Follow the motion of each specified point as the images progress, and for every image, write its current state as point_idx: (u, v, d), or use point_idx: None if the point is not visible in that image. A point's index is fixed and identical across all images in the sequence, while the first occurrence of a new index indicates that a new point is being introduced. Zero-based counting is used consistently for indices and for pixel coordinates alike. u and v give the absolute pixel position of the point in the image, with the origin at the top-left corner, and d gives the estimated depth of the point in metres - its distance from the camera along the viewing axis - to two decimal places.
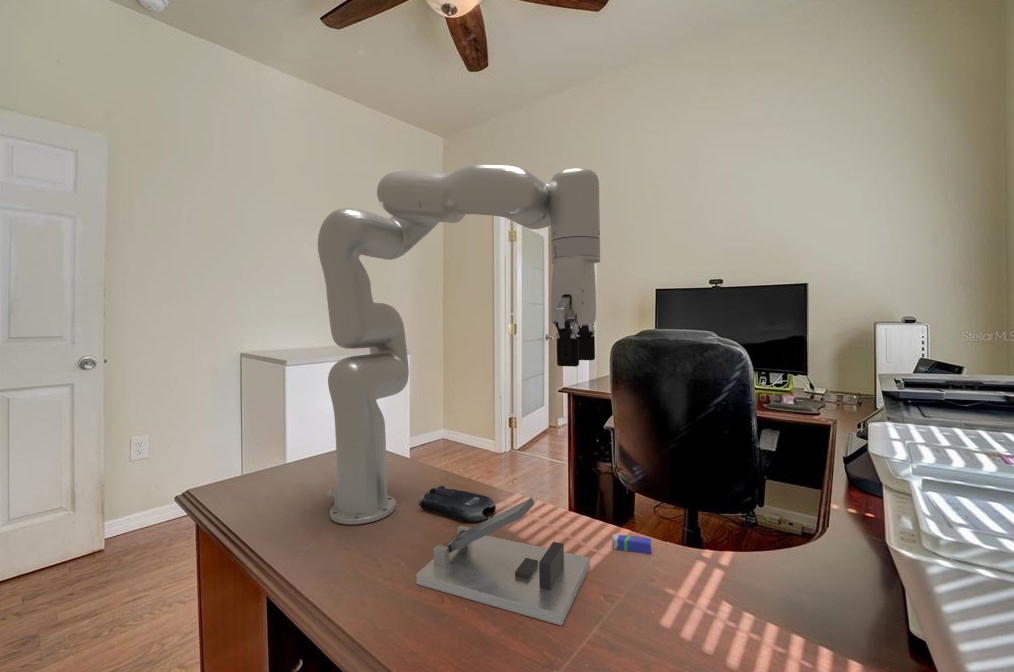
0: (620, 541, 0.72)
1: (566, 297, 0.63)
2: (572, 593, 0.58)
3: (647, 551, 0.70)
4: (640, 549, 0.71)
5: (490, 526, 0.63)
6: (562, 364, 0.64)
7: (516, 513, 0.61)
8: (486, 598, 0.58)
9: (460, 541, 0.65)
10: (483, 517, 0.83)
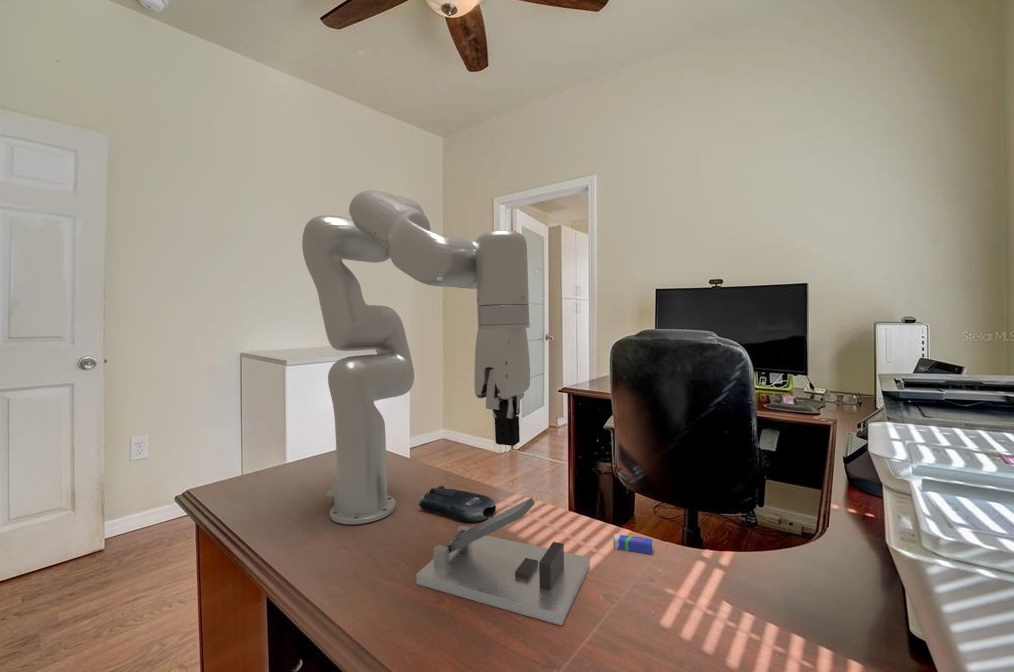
0: (621, 541, 0.71)
1: (491, 379, 0.60)
2: (572, 593, 0.58)
3: (648, 552, 0.70)
4: (641, 549, 0.70)
5: (490, 526, 0.63)
6: (500, 442, 0.63)
7: (516, 513, 0.61)
8: (486, 598, 0.58)
9: (460, 541, 0.65)
10: (483, 517, 0.83)
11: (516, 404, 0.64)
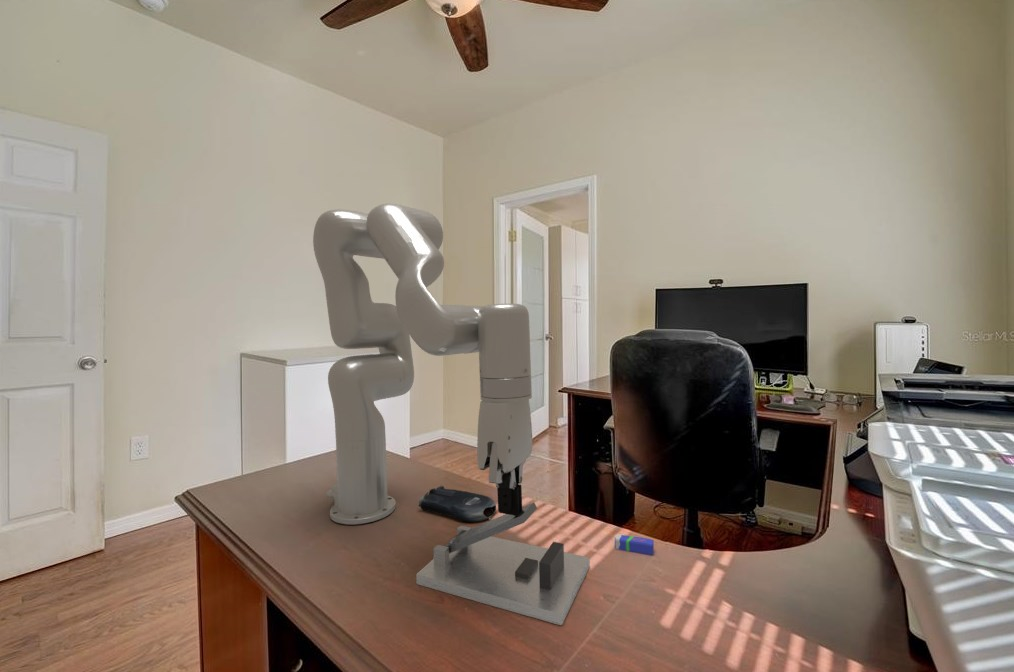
0: (622, 541, 0.71)
1: (494, 453, 0.60)
2: (572, 593, 0.58)
3: (649, 552, 0.70)
4: (642, 550, 0.70)
5: (492, 529, 0.63)
6: (503, 511, 0.64)
7: (519, 518, 0.61)
8: (486, 598, 0.58)
9: (461, 542, 0.65)
10: (484, 517, 0.83)
11: (519, 473, 0.64)
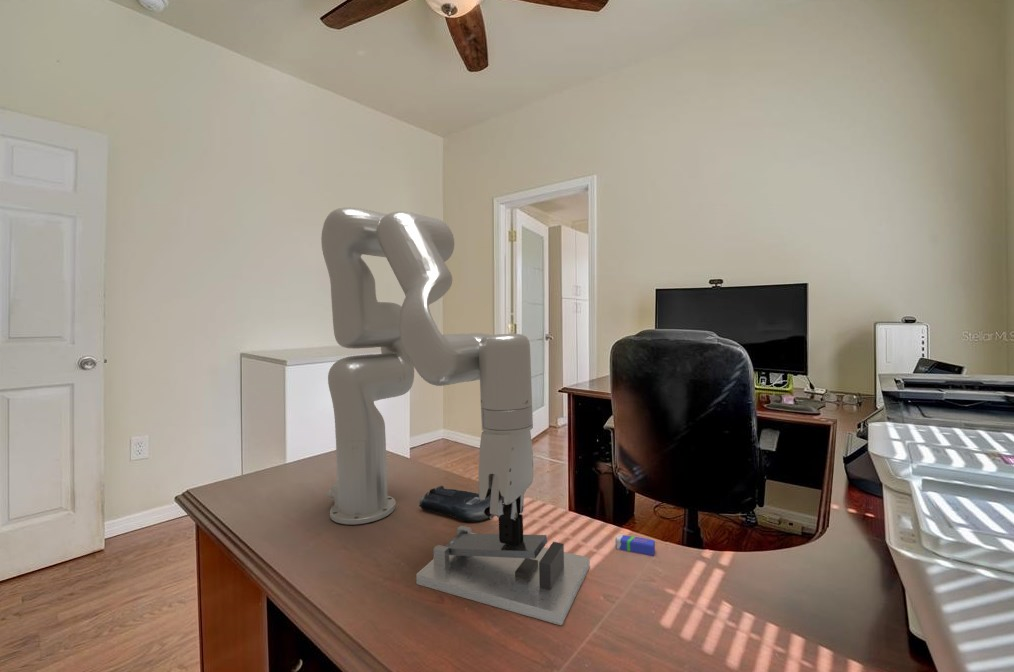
0: (623, 541, 0.71)
1: (495, 485, 0.60)
2: (572, 593, 0.58)
3: (650, 553, 0.70)
4: (643, 550, 0.70)
5: (499, 551, 0.62)
6: (504, 541, 0.64)
7: (531, 552, 0.60)
8: (486, 598, 0.58)
9: (464, 550, 0.65)
10: (485, 516, 0.83)
11: (520, 502, 0.64)
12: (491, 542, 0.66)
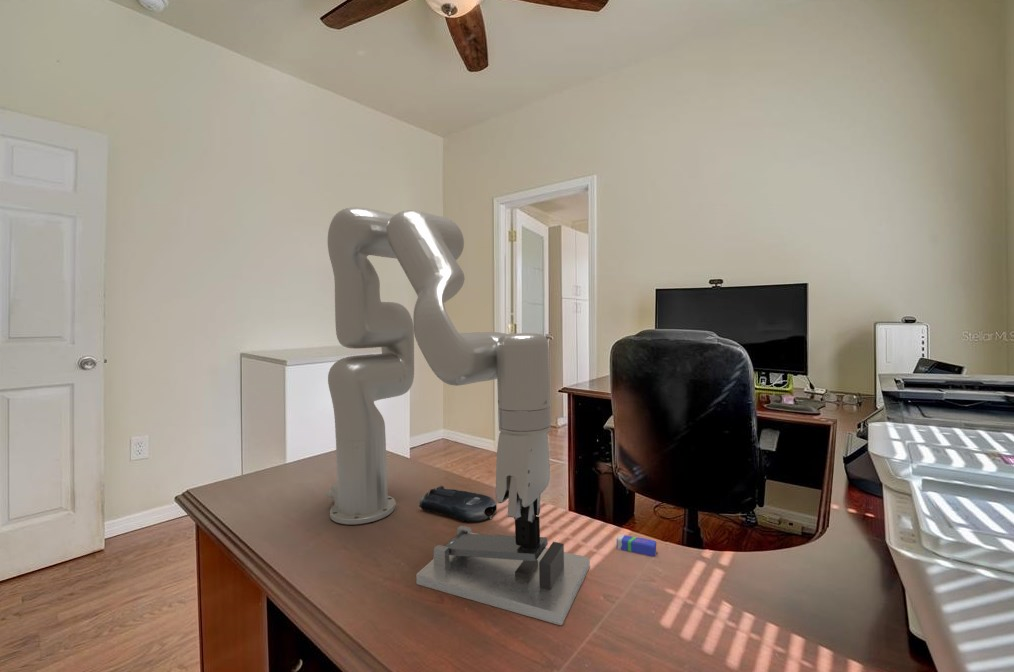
0: (624, 541, 0.71)
1: (513, 487, 0.59)
2: (572, 593, 0.58)
3: (651, 553, 0.69)
4: (644, 551, 0.70)
5: (500, 553, 0.62)
6: (520, 544, 0.63)
7: (531, 555, 0.60)
8: (486, 598, 0.58)
9: (464, 550, 0.65)
10: (485, 517, 0.83)
11: (536, 504, 0.63)
12: (491, 543, 0.66)
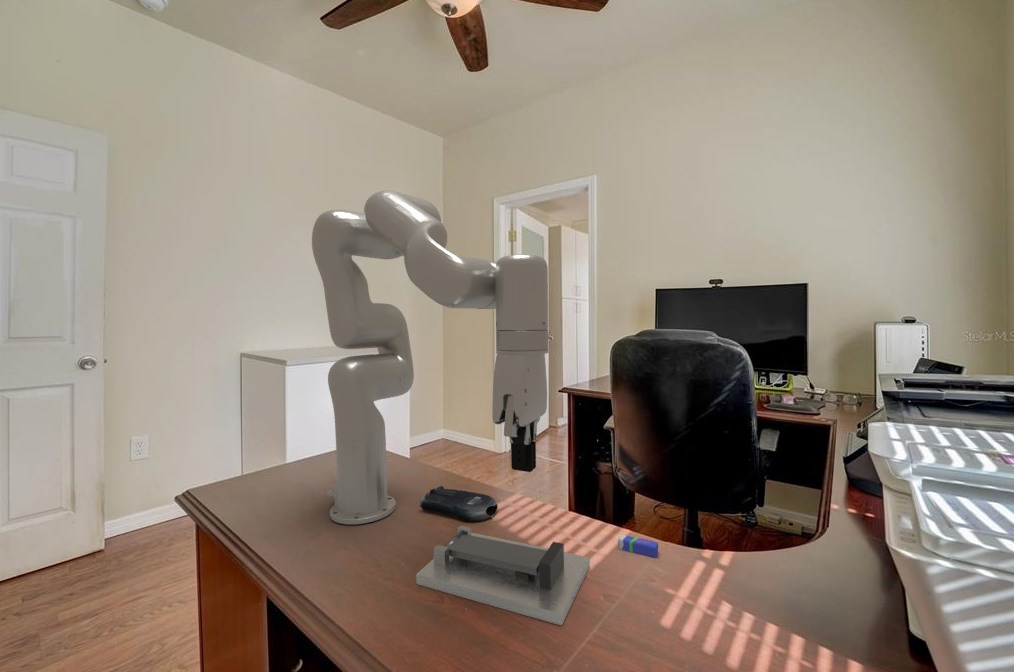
0: (626, 542, 0.71)
1: (510, 406, 0.59)
2: (572, 593, 0.58)
3: (652, 555, 0.69)
4: (645, 552, 0.70)
5: (501, 562, 0.62)
6: (516, 468, 0.63)
7: (533, 569, 0.60)
8: (486, 598, 0.58)
9: (464, 554, 0.65)
10: (486, 516, 0.83)
11: (533, 429, 0.63)
12: (492, 549, 0.65)
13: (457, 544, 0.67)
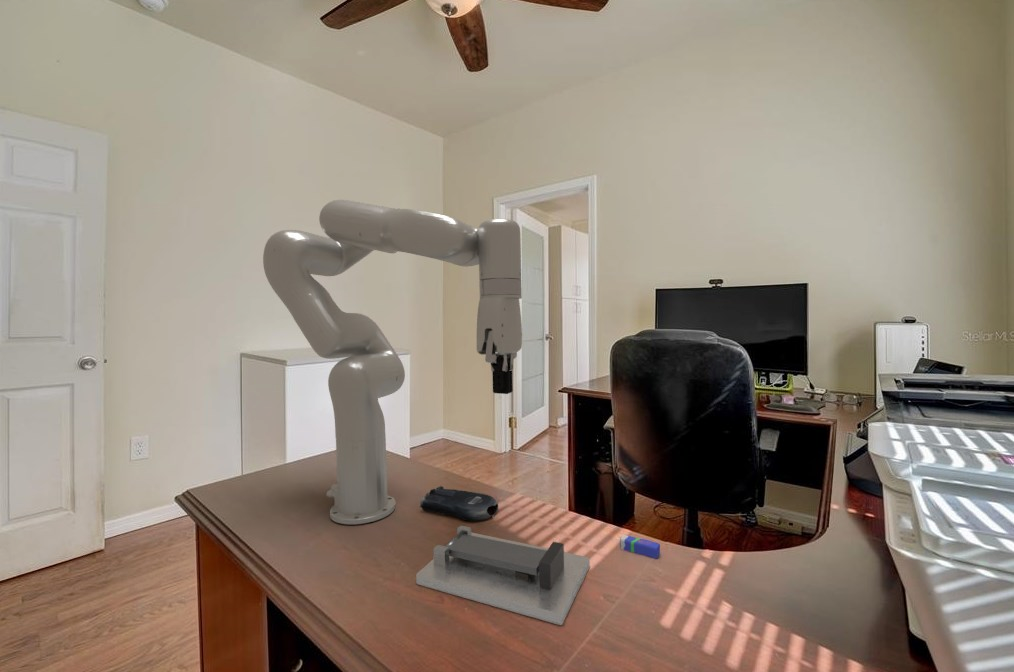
0: (627, 542, 0.71)
1: (490, 338, 0.74)
2: (572, 593, 0.58)
3: (653, 556, 0.69)
4: (646, 553, 0.69)
5: (501, 562, 0.62)
6: (497, 391, 0.78)
7: (533, 569, 0.60)
8: (486, 598, 0.58)
9: (464, 554, 0.65)
10: (487, 515, 0.83)
11: (510, 361, 0.79)
12: (492, 549, 0.65)
13: (457, 544, 0.67)
